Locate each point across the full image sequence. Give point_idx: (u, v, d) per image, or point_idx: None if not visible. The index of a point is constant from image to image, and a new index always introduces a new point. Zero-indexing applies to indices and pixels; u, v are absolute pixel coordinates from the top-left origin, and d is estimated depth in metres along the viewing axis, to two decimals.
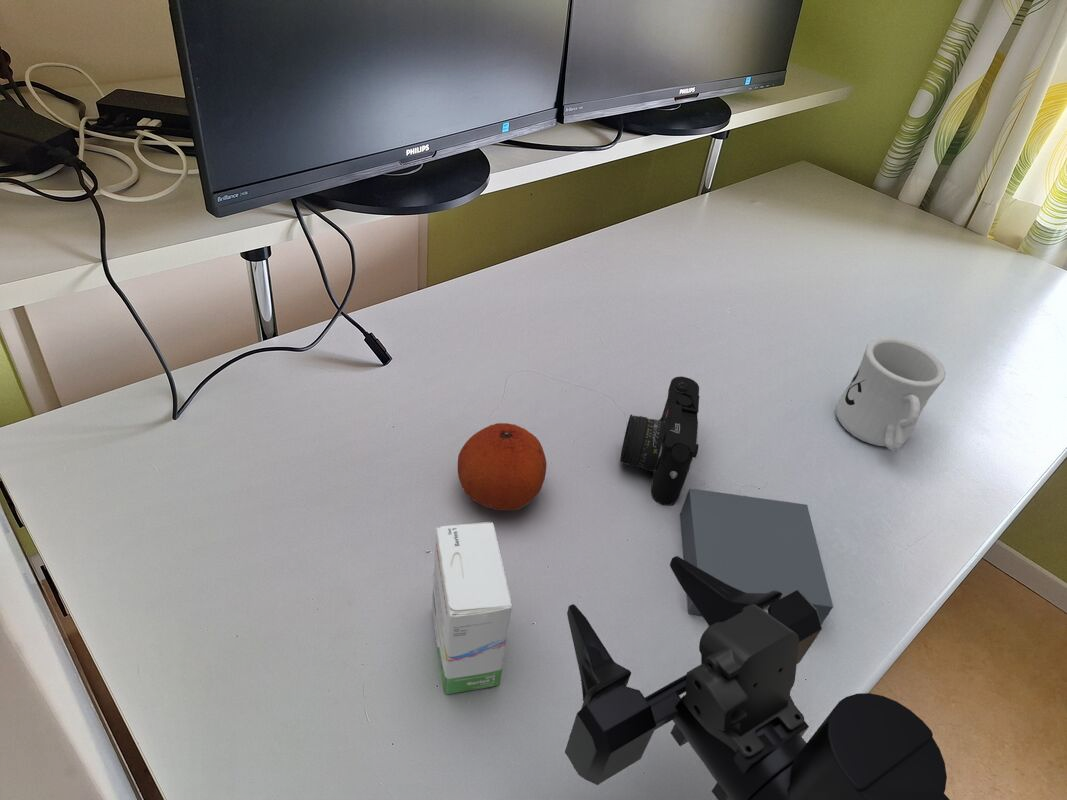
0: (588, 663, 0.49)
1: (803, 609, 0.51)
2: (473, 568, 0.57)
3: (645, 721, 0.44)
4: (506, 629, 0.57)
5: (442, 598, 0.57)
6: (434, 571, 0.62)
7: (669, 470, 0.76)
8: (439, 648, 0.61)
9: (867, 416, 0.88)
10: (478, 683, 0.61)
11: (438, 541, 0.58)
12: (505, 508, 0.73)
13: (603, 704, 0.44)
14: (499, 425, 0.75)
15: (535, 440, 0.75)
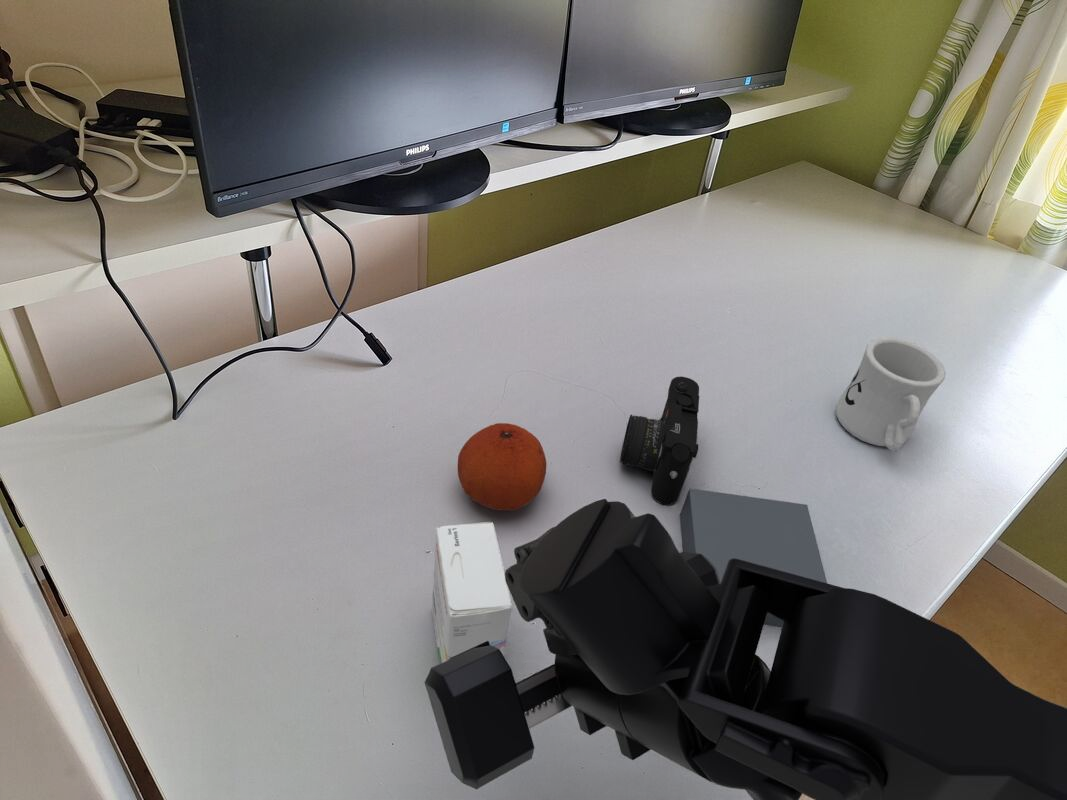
0: None
1: (686, 557, 0.47)
2: (473, 569, 0.57)
3: (495, 664, 0.40)
4: (506, 629, 0.57)
5: (442, 598, 0.57)
6: (434, 571, 0.62)
7: (669, 470, 0.76)
8: (439, 648, 0.61)
9: (867, 416, 0.88)
10: None
11: (438, 541, 0.58)
12: (505, 508, 0.73)
13: (449, 663, 0.40)
14: (499, 425, 0.75)
15: (535, 440, 0.75)
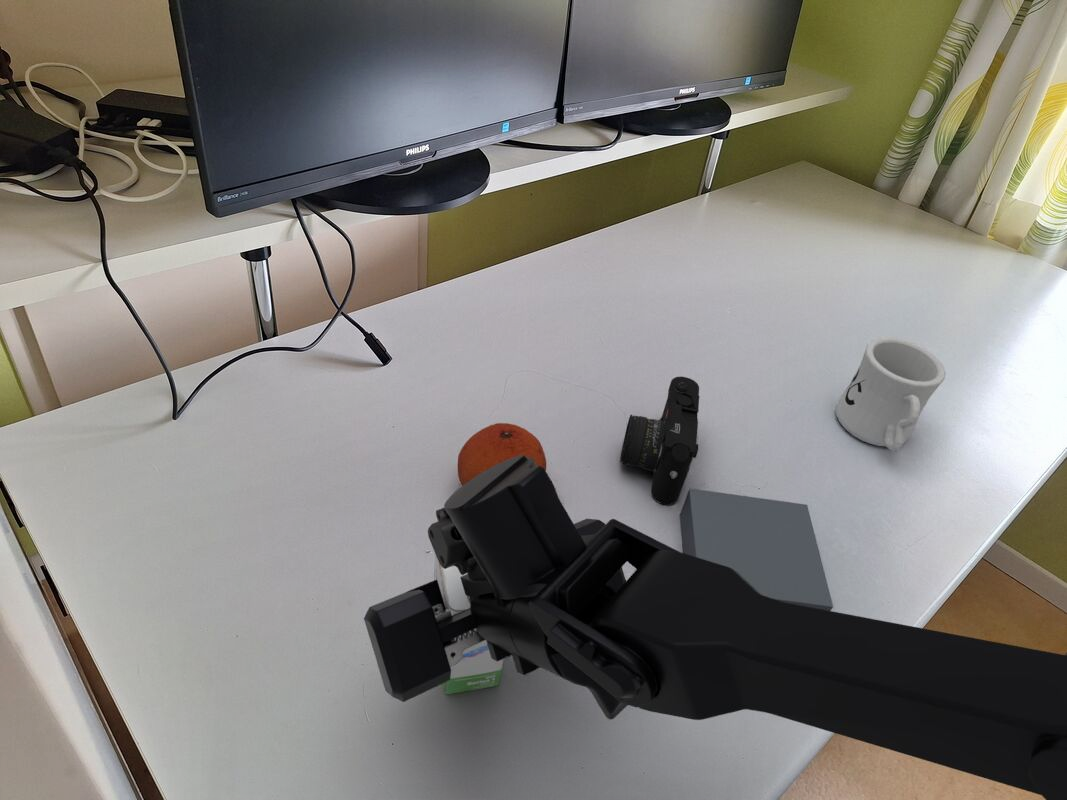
0: None
1: (587, 522, 0.57)
2: None
3: (420, 603, 0.50)
4: None
5: None
6: (434, 571, 0.62)
7: (669, 470, 0.76)
8: None
9: (867, 416, 0.88)
10: (478, 683, 0.61)
11: None
12: None
13: (383, 602, 0.50)
14: (499, 425, 0.75)
15: (535, 440, 0.75)
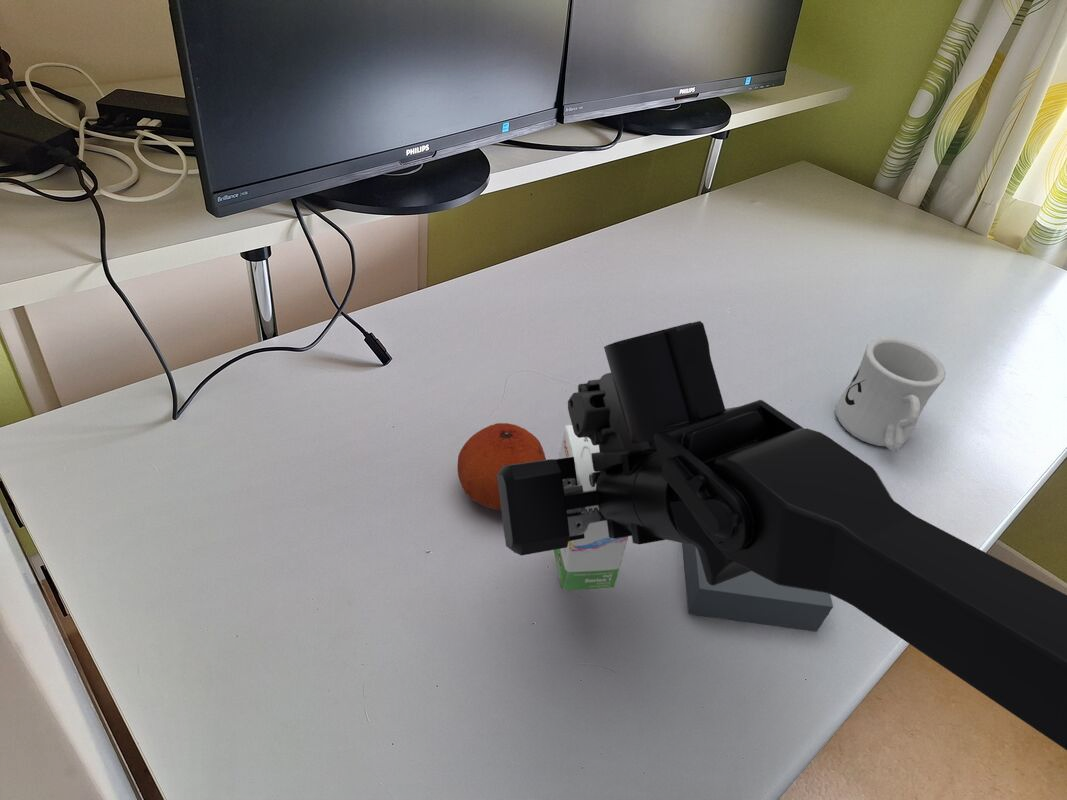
0: None
1: None
2: None
3: (550, 467, 0.52)
4: None
5: None
6: None
7: None
8: None
9: (867, 416, 0.88)
10: (595, 582, 0.63)
11: (567, 436, 0.61)
12: None
13: None
14: (499, 425, 0.75)
15: (535, 440, 0.75)
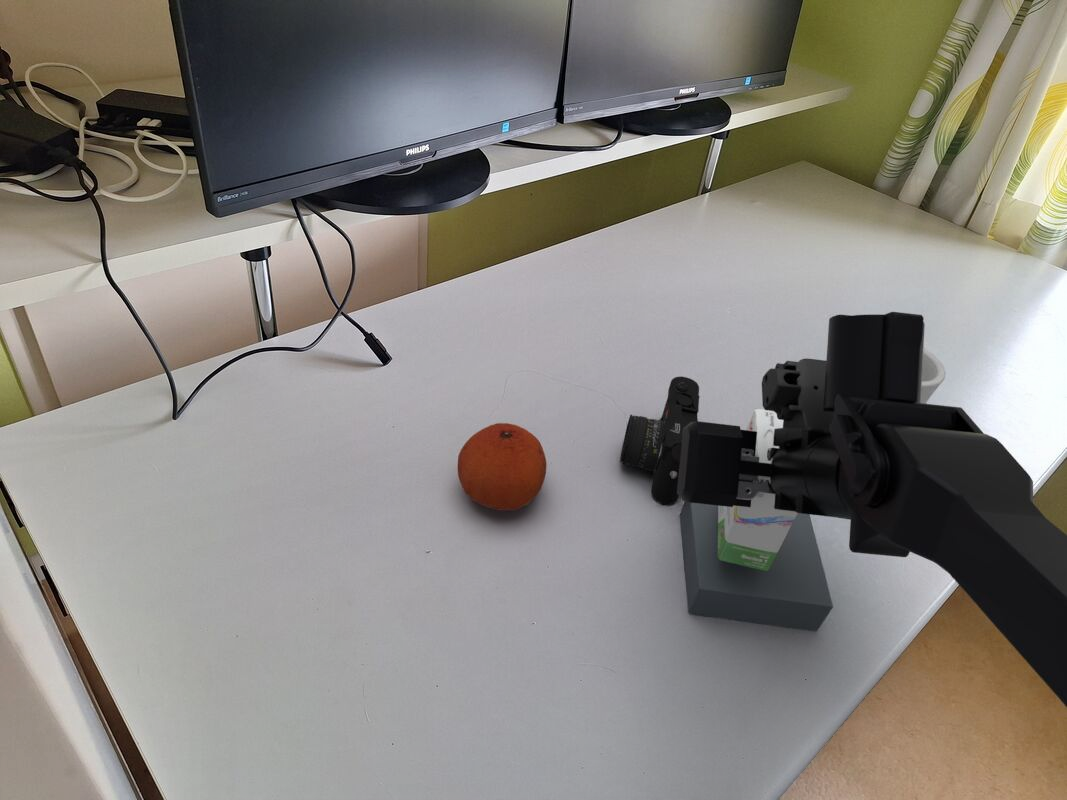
0: None
1: None
2: None
3: (733, 431, 0.57)
4: None
5: None
6: None
7: (669, 470, 0.76)
8: (723, 519, 0.68)
9: None
10: (751, 560, 0.66)
11: (755, 418, 0.65)
12: (505, 508, 0.73)
13: None
14: (499, 425, 0.75)
15: (535, 440, 0.75)
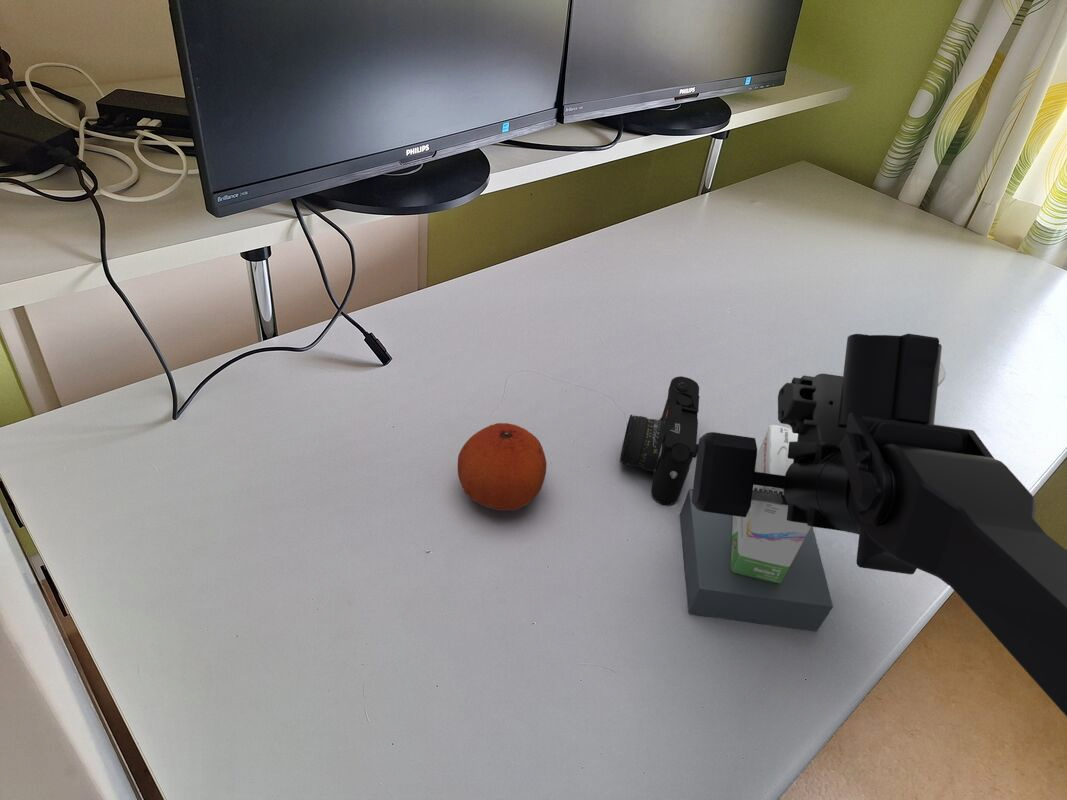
0: None
1: None
2: None
3: (748, 443, 0.58)
4: None
5: None
6: None
7: (669, 470, 0.76)
8: (737, 531, 0.69)
9: None
10: (763, 573, 0.68)
11: (769, 434, 0.66)
12: (505, 508, 0.73)
13: None
14: (499, 425, 0.75)
15: (535, 440, 0.75)
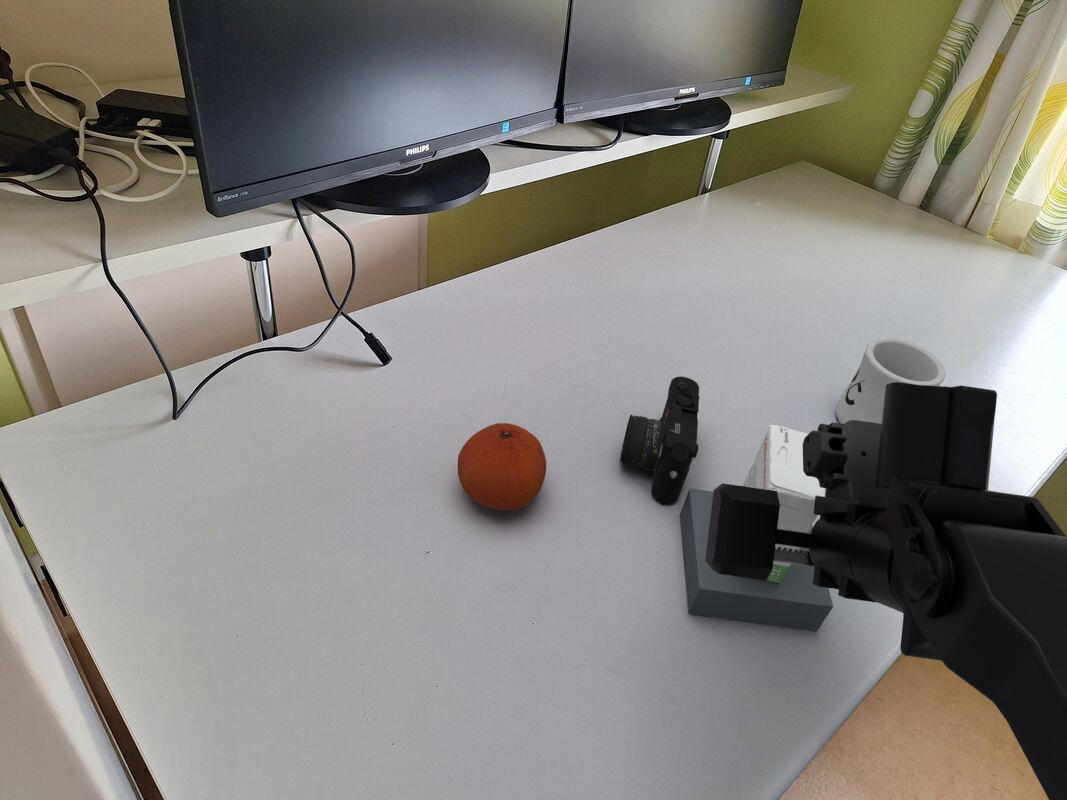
0: None
1: None
2: (797, 463, 0.64)
3: (769, 497, 0.52)
4: (810, 524, 0.63)
5: (760, 480, 0.65)
6: (752, 466, 0.70)
7: (669, 470, 0.76)
8: None
9: (867, 416, 0.88)
10: None
11: (769, 434, 0.66)
12: (505, 508, 0.73)
13: None
14: (499, 425, 0.75)
15: (535, 440, 0.75)
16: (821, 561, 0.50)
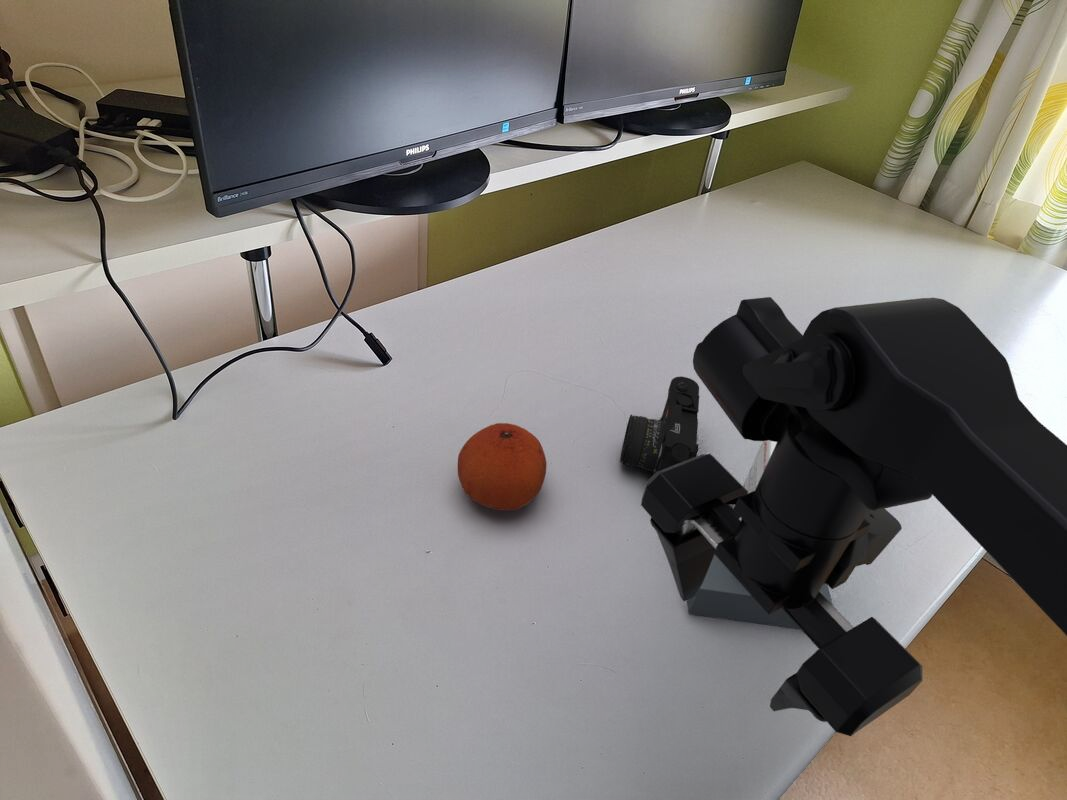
0: None
1: None
2: None
3: None
4: None
5: None
6: (752, 466, 0.70)
7: None
8: None
9: None
10: None
11: None
12: (505, 508, 0.73)
13: None
14: (499, 425, 0.75)
15: (535, 440, 0.75)
16: None
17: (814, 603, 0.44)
